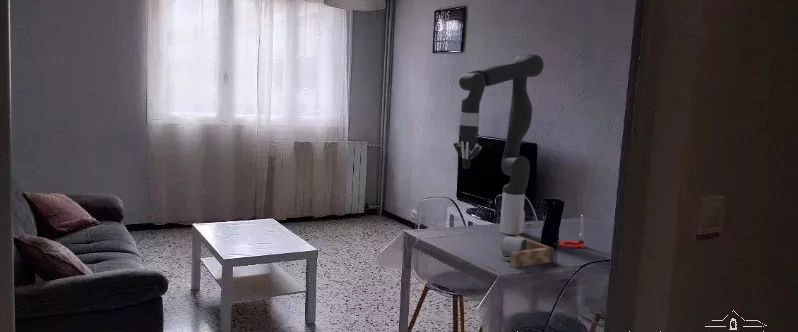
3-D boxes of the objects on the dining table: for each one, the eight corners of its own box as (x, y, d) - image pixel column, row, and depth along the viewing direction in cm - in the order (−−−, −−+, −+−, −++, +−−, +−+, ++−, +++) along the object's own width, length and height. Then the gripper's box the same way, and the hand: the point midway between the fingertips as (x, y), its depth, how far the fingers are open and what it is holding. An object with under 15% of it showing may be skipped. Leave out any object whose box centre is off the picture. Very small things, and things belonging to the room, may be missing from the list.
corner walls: (516, 247, 234) (518, 235, 233) (552, 261, 218) (554, 248, 217) (479, 252, 224) (480, 239, 223) (514, 267, 208) (515, 253, 207)
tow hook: (561, 248, 238) (585, 249, 238) (563, 216, 237) (587, 217, 236) (557, 243, 247) (580, 243, 246) (558, 212, 245) (581, 212, 245)
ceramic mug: (506, 252, 226) (508, 232, 225) (527, 257, 222) (529, 236, 221) (495, 259, 218) (496, 238, 216) (516, 264, 213) (518, 243, 212)
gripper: (449, 123, 237) (447, 166, 240) (477, 126, 228) (473, 171, 231) (461, 122, 243) (458, 165, 245) (488, 125, 234) (485, 169, 236)
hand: (466, 168), depth 238 cm, fingers closed
